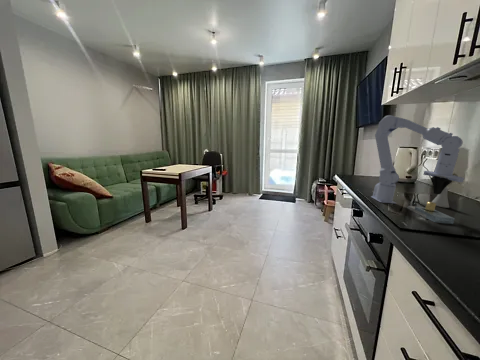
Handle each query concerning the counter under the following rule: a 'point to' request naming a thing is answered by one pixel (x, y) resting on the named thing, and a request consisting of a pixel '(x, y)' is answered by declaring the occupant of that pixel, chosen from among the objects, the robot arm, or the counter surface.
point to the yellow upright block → (430, 206)
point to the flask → (442, 199)
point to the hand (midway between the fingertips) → (436, 193)
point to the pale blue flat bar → (432, 215)
